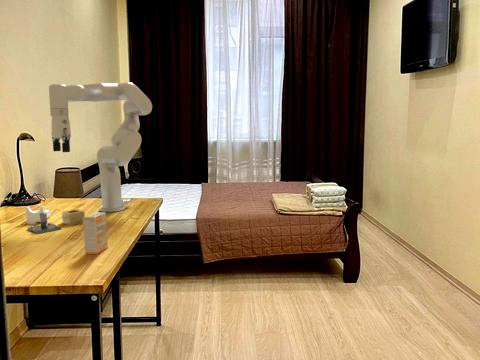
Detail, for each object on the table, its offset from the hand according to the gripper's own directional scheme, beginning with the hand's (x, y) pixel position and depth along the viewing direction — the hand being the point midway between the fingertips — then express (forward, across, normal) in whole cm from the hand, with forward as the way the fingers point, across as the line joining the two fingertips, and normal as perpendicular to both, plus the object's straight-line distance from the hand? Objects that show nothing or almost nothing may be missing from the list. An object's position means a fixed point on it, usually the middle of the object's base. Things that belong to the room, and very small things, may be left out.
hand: (61, 151), depth 215 cm
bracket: (+32, +9, +8) cm, 34 cm away
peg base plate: (+31, -11, +14) cm, 36 cm away
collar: (+31, -8, 0) cm, 32 cm away
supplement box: (+32, -57, +13) cm, 66 cm away
